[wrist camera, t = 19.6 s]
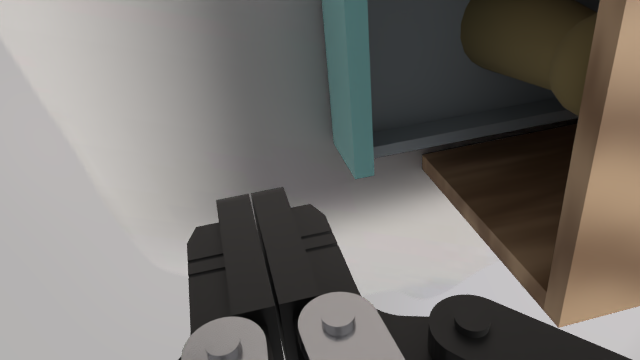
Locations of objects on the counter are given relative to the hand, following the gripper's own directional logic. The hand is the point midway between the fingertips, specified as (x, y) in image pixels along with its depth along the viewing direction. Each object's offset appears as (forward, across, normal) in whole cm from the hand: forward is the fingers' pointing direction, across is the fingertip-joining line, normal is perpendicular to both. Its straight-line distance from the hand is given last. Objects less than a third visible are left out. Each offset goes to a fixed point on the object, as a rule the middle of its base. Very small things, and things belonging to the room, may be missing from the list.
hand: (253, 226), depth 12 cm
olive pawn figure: (+20, -18, +3) cm, 27 cm away
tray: (+21, -15, +4) cm, 26 cm away
